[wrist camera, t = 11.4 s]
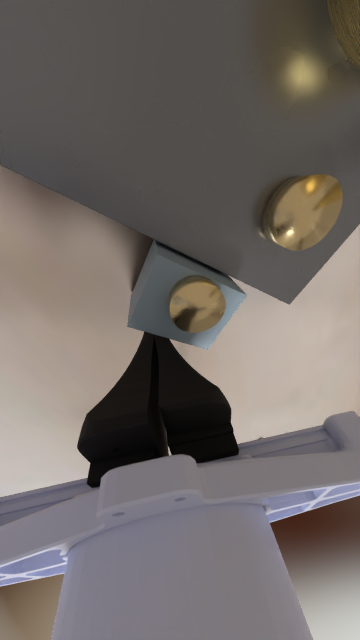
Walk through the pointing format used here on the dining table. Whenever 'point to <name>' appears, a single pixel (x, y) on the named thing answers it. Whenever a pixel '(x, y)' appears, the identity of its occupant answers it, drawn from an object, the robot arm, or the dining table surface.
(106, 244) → the dining table surface
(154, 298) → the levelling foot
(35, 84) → the base
